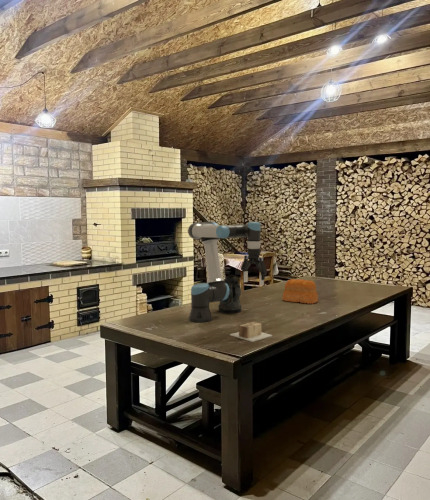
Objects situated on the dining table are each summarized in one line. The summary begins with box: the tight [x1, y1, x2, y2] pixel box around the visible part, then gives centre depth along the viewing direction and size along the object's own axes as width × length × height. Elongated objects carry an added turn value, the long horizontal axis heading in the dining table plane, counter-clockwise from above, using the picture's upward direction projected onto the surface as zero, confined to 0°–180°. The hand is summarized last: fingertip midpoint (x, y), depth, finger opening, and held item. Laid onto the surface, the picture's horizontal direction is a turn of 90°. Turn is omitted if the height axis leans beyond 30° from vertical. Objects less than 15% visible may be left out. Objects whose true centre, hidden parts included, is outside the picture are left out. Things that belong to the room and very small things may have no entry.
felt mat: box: [229, 331, 273, 343], centre depth 249 cm, size 18×16×1 cm
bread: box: [282, 278, 319, 305], centre depth 343 cm, size 16×26×17 cm, turn 56°
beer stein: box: [218, 275, 242, 314], centre depth 311 cm, size 16×19×25 cm
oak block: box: [238, 321, 262, 338], centre depth 249 cm, size 6×6×12 cm
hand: (253, 283), depth 262 cm, fingers open, 13 cm apart
